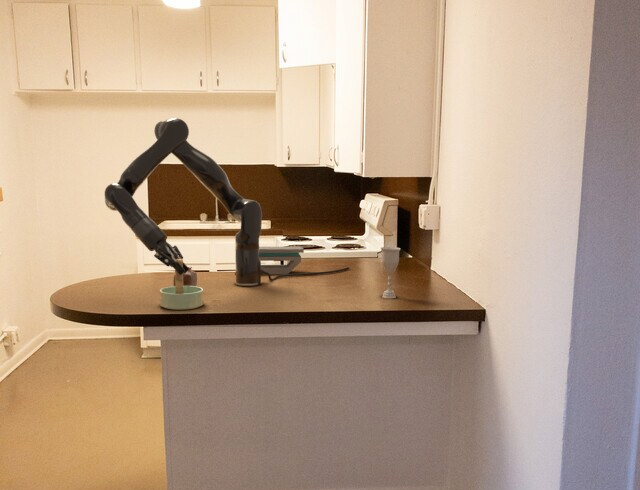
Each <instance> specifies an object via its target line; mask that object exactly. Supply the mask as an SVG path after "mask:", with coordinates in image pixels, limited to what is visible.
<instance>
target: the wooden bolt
mask: <svg viewBox="0 0 640 490" xmlns="http://www.w3.org/2000/svg"><path fill="white" fill-rule="evenodd" d="M176 261H177V263H179V264H180V265H181V266H182V267H183V262H184V258H183V259H176ZM174 275H175V286H176V294H184V287H183V274H182V275H180V274H179V273H178V272H177V271H176V270H175V269H174Z"/></svg>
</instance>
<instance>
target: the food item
mask: <svg viewBox="0 0 640 490" xmlns="http://www.w3.org/2000/svg"><path fill="white" fill-rule="evenodd" d="M187 267H188V268H189V270H188V271H187V272H186V273H183V286H196V287H197V284H198V274H197V272H196V271H195V270H194V269H192V268H193V267H192V266H187ZM173 286H175V274H174V275H173Z"/></svg>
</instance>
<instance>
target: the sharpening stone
mask: <svg viewBox="0 0 640 490" xmlns="http://www.w3.org/2000/svg"><path fill="white" fill-rule="evenodd" d="M304 252H305V249H304V247H303V246H259V260H260V261H261V262H277V261H278V262H282V261H283V262H287V261H288V262H287V263H286V264H261V269H263V271H265V272H267V273H269V274H270V275H285V274H291V272H292V271H293V270H295V268H296V267H297V266H299V265H300V263H301V262H302V255H301V254H304ZM300 253H301V254H300ZM263 275H265V274H264V273H263Z"/></svg>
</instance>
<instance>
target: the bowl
mask: <svg viewBox="0 0 640 490" xmlns="http://www.w3.org/2000/svg"><path fill="white" fill-rule="evenodd" d="M183 287H184V294H176V286H174V285H172V286H171V285H170V286H166V287H162V288H160V289H159V305H160V307H162V308H164V309H167V310H174V311H186V310H193V309H197V308H199V307H202V306H203V305H204V301H205V300H204V289H203V287H200V286H197V285H196V286H183Z"/></svg>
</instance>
